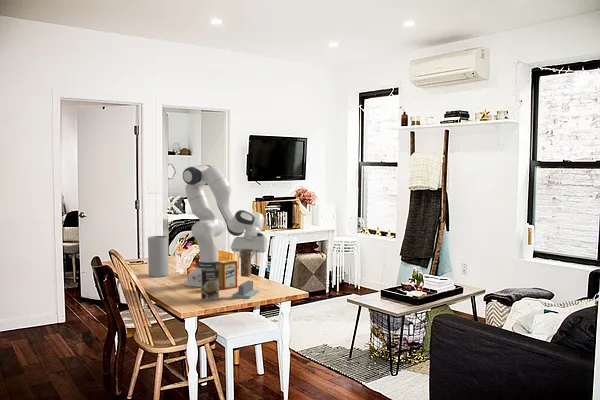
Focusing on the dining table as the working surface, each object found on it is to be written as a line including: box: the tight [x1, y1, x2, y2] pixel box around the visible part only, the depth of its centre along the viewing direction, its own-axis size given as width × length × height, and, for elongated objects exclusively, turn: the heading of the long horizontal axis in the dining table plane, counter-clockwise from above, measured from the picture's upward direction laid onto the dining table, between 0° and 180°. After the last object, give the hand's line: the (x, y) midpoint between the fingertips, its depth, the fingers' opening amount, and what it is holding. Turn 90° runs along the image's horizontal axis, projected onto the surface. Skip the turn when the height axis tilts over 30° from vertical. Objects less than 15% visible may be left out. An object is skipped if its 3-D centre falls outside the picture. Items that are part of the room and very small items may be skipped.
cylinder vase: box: [147, 235, 170, 278], centre depth 356 cm, size 12×12×25 cm
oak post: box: [240, 250, 252, 278], centre depth 304 cm, size 4×4×14 cm
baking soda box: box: [217, 259, 238, 291], centre depth 322 cm, size 10×6×16 cm
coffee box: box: [200, 269, 220, 302], centre depth 295 cm, size 9×6×16 cm
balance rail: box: [232, 279, 260, 300], centre depth 305 cm, size 10×14×6 cm
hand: (245, 257), depth 303 cm, fingers closed on oak post, 4 cm apart
